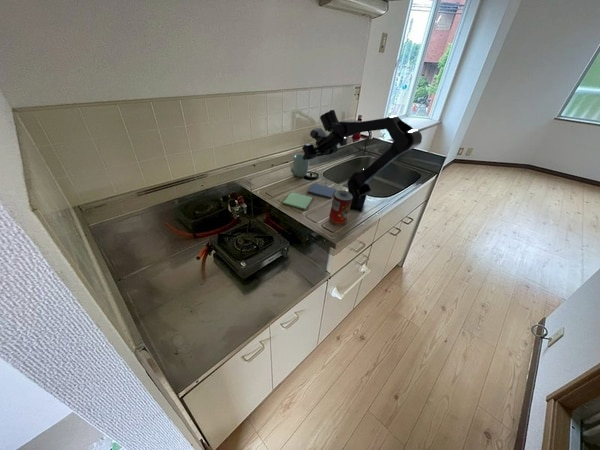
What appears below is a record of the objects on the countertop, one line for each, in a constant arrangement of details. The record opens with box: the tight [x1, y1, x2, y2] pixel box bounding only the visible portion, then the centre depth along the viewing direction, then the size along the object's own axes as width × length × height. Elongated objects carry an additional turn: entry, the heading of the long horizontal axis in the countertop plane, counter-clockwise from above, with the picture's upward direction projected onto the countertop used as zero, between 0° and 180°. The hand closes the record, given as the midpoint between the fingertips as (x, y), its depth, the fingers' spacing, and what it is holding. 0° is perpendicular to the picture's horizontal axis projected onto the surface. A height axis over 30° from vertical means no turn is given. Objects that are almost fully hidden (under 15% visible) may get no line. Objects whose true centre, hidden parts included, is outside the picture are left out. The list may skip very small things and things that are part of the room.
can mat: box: [307, 183, 336, 199], centre depth 113 cm, size 11×9×1 cm
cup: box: [292, 153, 310, 178], centre depth 122 cm, size 8×8×10 cm
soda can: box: [329, 189, 353, 226], centre depth 91 cm, size 7×7×12 cm
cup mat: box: [282, 191, 313, 211], centre depth 103 cm, size 10×10×1 cm
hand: (310, 157), depth 114 cm, fingers open, 9 cm apart
